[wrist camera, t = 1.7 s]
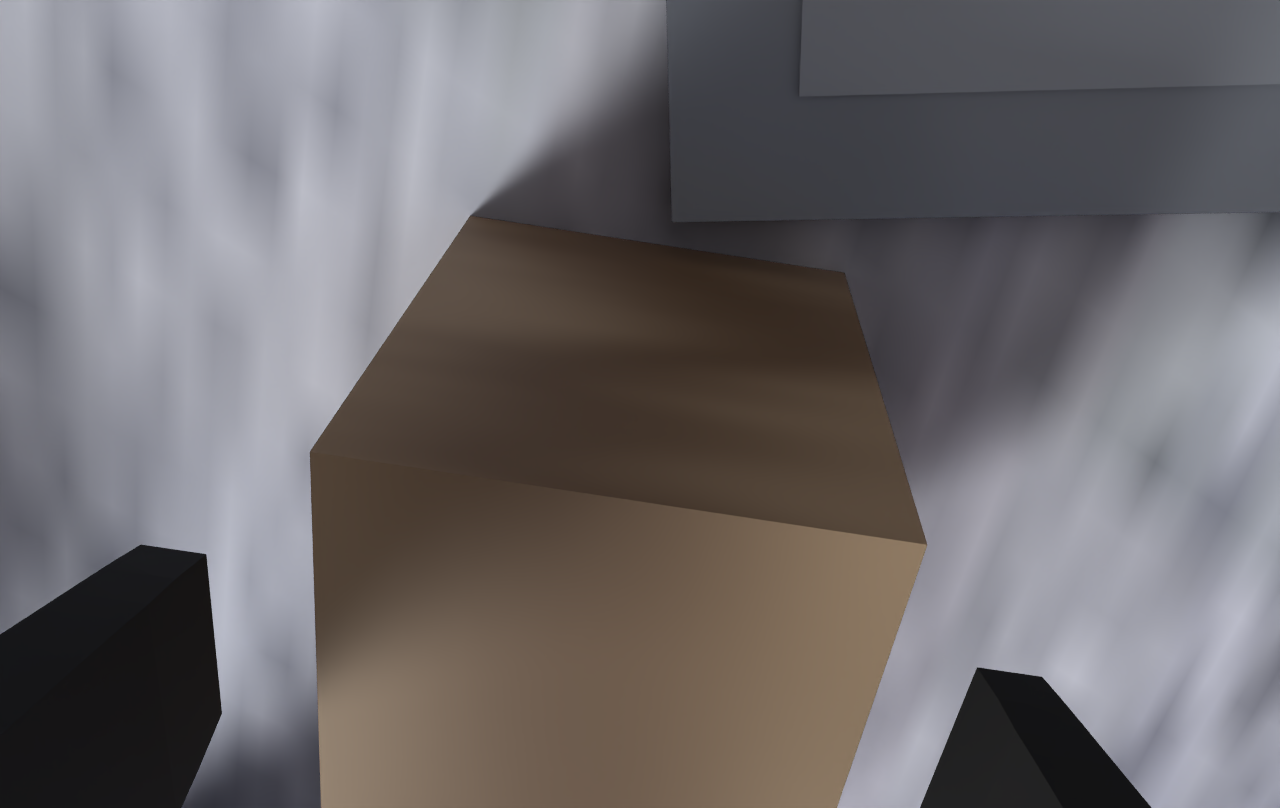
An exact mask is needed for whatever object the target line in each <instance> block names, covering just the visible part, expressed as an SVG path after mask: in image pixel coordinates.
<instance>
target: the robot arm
mask: <svg viewBox="0 0 1280 808" xmlns="http://www.w3.org/2000/svg"><path fill="white" fill-rule="evenodd" d="M221 714H222V710H221V700H220V689H219V679H218V669H217V659H216V649H215V639H214V628H213V618H212V608H211V598H210V588H209V578H208V567H207V557H206V554H201V553H194V552H187V551H180V550H174V549H167V548H160V547H153V546H146V545H139V546H138V547H136V548H135V549H133V550H131V551H130V552H128V553H126V554H125V555H123V556H121V557H120V558H118V559H116V560H115V561H113V562H112V563H110V564H108V565H107V566H105V567H104V568H102V569H101V570H99V571H98V572H96V573H94V574H93V575H91V576H90V577H88V578H87V579H85V580H84V581H82V582H80V583H79V584H77V585H76V586H74V587H73V588H71V589H70V590H68V591H67V592H65V593H64V594H62V595H60V596H59V597H57V598H56V599H54V600H53V601H51V602H50V603H48V604H47V605H45V606H44V607H42V608H40V609H39V610H37V611H36V612H34V613H33V614H31V615H30V616H28V617H27V618H25V619H23V620H22V621H20V622H19V623H17V624H16V625H14V626H13V627H11V628H10V629H8V630H6V631H5V632H3V633H2V634H0V808H181V807H182V805H183V803H184V801H185V798H186V796H187V794H188V792H189V789H190V787H191V785H192V783H193V780H194V778H195V776H196V774H197V772H198V769H199V767H200V765H201V762H202V760H203V757H204V755H205V753H206V750H207V748H208V745H209V743H210V741H211V738H212V736H213V733H214V731H215V729H216V726H217V724H218V721H219V719H220V717H221ZM920 808H1151V807H1150V805H1149V804H1148V803H1147V802H1146V801H1145V799H1144V798H1143V797H1142V796H1141V795H1140V793H1139V792H1138V791H1137V790H1136V789H1135V787H1134V786H1133V785H1132V784H1131V783H1130V781H1129V780H1128V779H1127V778H1126V777H1125V775H1124V774H1123V773H1122V772H1121V770H1120V769H1119V768H1118V767H1117V766H1116V764H1115V763H1114V762H1113V761H1112V760H1111V758H1110V757H1109V756H1108V755H1107V754H1106V752H1105V751H1104V750H1103V749H1102V747H1101V746H1100V745H1099V744H1098V743H1097V741H1096V740H1095V739H1094V738H1093V737H1092V735H1091V734H1090V733H1089V732H1088V730H1087V729H1086V728H1085V727H1084V726H1083V724H1082V723H1081V722H1080V721H1079V720H1078V718H1077V717H1076V716H1075V715H1074V714H1073V712H1072V711H1071V710H1070V709H1069V708H1068V706H1067V705H1066V704H1065V703H1064V702H1063V700H1062V699H1061V698H1060V697H1059V696H1058V695H1057V693H1056V692H1055V691H1054V690H1053V689H1052V688H1051V687H1050V685H1049V684H1048V683H1047V682H1046V681H1045V680H1044V679H1043V678H1042V677H1039V676H1032V675H1025V674H1018V673H1011V672H1005V671H998V670H991V669H984V668H977V669H976V672H975V674H974V677H973V679H972V682H971V684H970V686H969V689H968V691H967V694H966V696H965V699H964V701H963V704H962V706H961V709H960V711H959V713H958V716H957V718H956V721H955V723H954V726H953V728H952V731H951V733H950V736H949V738H948V740H947V743H946V745H945V748H944V750H943V753H942V755H941V758H940V760H939V763H938V765H937V767H936V770H935V772H934V775H933V777H932V780H931V782H930V785H929V787H928V790H927V792H926V795H925V797H924V799H923V802H922V804H921V807H920Z"/></svg>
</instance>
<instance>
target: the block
mask: <svg viewBox="0 0 1280 808" xmlns="http://www.w3.org/2000/svg"><path fill="white" fill-rule="evenodd" d="M310 471H311V502H312V534H313V566H314V598H315V630H316V662H317V694H318V726H319V758H320V789H321V808H837V806H838V803H839V800H840V797H841V794H842V791H843V788H844V785H845V782H846V779H847V777H848V774H849V771H850V768H851V765H852V762H853V759H854V756H855V753H856V750H857V748H858V745H859V742H860V739H861V736H862V733H863V730H864V727H865V724H866V721H867V718H868V716H869V713H870V710H871V707H872V704H873V701H874V698H875V695H876V692H877V689H878V687H879V684H880V681H881V678H882V675H883V672H884V669H885V666H886V663H887V660H888V658H889V655H890V652H891V649H892V646H893V643H894V640H895V637H896V634H897V631H898V628H899V626H900V623H901V620H902V617H903V614H904V611H905V608H906V605H907V602H908V599H909V597H910V594H911V591H912V588H913V585H914V582H915V579H916V576H917V573H918V570H919V568H920V565H921V562H922V559H923V556H924V553H925V550H926V547H927V542H926V539H925V536H924V532H923V529H922V526H921V523H920V519H919V516H918V513H917V509H916V506H915V503H914V500H913V496H912V493H911V490H910V486H909V483H908V480H907V477H906V473H905V470H904V467H903V464H902V460H901V457H900V454H899V450H898V447H897V444H896V441H895V437H894V434H893V431H892V427H891V424H890V421H889V418H888V414H887V411H886V408H885V405H884V401H883V398H882V395H881V391H880V388H879V385H878V382H877V378H876V375H875V372H874V368H873V365H872V362H871V359H870V355H869V352H868V349H867V346H866V342H865V339H864V336H863V332H862V329H861V326H860V323H859V319H858V316H857V313H856V309H855V306H854V303H853V300H852V296H851V293H850V290H849V287H848V283H847V280H846V277H845V273H842V272H836V271H829V270H822V269H816V268H809V267H803V266H796V265H790V264H783V263H777V262H770V261H764V260H757V259H750V258H744V257H737V256H731V255H724V254H718V253H711V252H705V251H698V250H692V249H685V248H678V247H672V246H665V245H659V244H652V243H646V242H639V241H633V240H626V239H619V238H613V237H606V236H600V235H593V234H587V233H580V232H574V231H567V230H561V229H554V228H547V227H541V226H534V225H528V224H521V223H515V222H508V221H502V220H495V219H489V218H482V217H475V216H470V217H469V218H468V220H467V221H466V223H465V224H464V226H463V227H462V229H461V230H460V232H459V233H458V235H457V236H456V238H455V239H454V241H453V242H452V243H451V245H450V246H449V248H448V249H447V251H446V252H445V254H444V255H443V257H442V258H441V260H440V261H439V263H438V264H437V266H436V267H435V268H434V270H433V271H432V273H431V274H430V276H429V277H428V279H427V280H426V282H425V283H424V285H423V286H422V288H421V289H420V291H419V292H418V293H417V295H416V296H415V298H414V299H413V301H412V302H411V304H410V305H409V307H408V308H407V310H406V311H405V313H404V314H403V316H402V317H401V318H400V320H399V321H398V323H397V324H396V326H395V327H394V329H393V330H392V332H391V333H390V335H389V336H388V338H387V339H386V341H385V342H384V343H383V345H382V346H381V348H380V349H379V351H378V352H377V354H376V355H375V357H374V358H373V360H372V361H371V363H370V364H369V366H368V367H367V368H366V370H365V371H364V373H363V374H362V376H361V377H360V379H359V380H358V382H357V383H356V385H355V386H354V388H353V389H352V391H351V392H350V394H349V395H348V396H347V398H346V399H345V401H344V402H343V404H342V405H341V407H340V408H339V410H338V411H337V413H336V414H335V416H334V417H333V419H332V420H331V421H330V423H329V424H328V426H327V427H326V429H325V430H324V432H323V433H322V435H321V436H320V438H319V439H318V441H317V442H316V444H315V445H314V446H313V448H312V449H311V451H310Z"/></svg>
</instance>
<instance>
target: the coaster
mask: <svg viewBox="0 0 1280 808" xmlns="http://www.w3.org/2000/svg"><path fill="white" fill-rule="evenodd" d="M666 9H667V49H668V89H669V129H670V169H671V209H672V222H708V221H769V220H830V219H891V218H952V217H1013V216H1074V215H1134V214H1195V213H1256V212H1280V0H666Z"/></svg>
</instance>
